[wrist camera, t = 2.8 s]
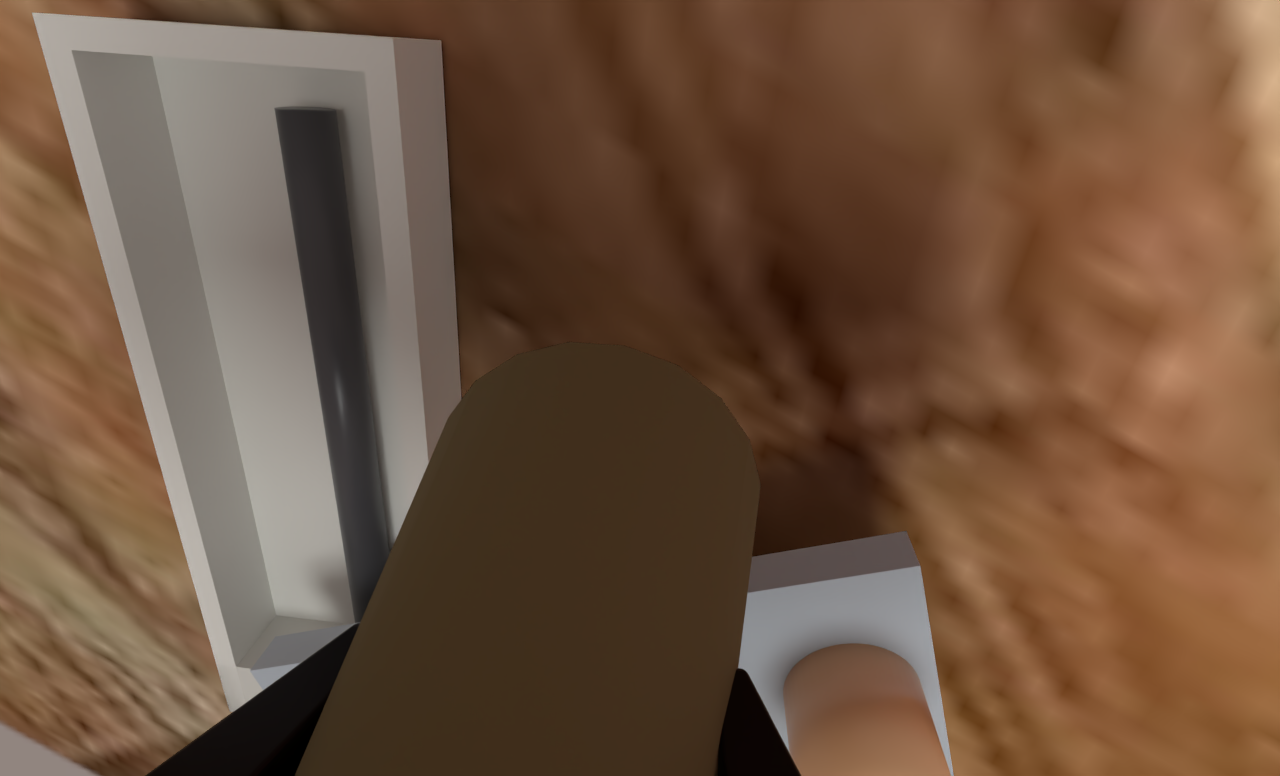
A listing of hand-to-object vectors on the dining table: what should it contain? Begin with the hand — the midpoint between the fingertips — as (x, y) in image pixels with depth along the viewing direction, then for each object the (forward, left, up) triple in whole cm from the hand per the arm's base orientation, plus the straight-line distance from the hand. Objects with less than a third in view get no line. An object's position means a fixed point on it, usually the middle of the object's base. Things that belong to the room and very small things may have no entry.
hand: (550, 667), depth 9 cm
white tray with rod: (-2, +8, -10) cm, 13 cm away
